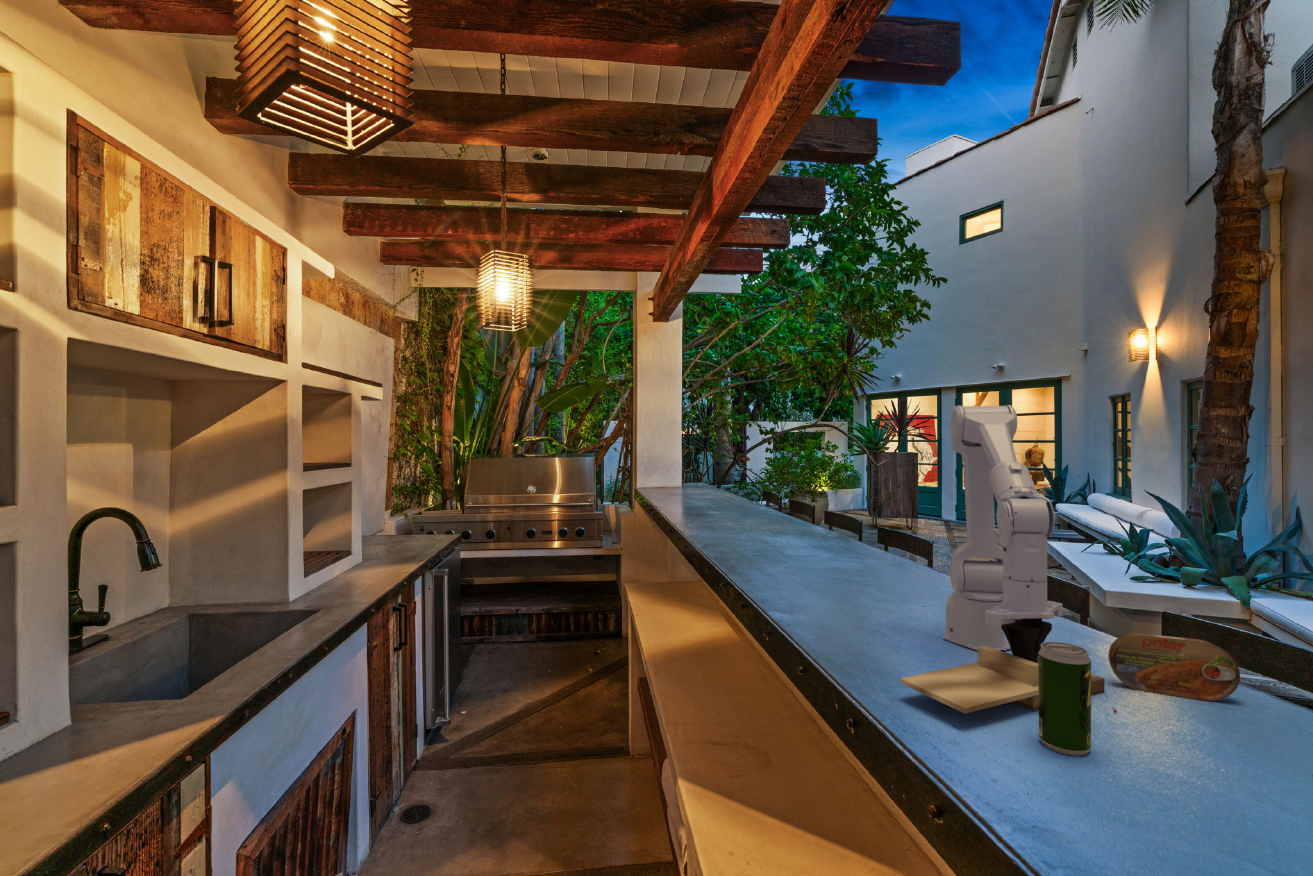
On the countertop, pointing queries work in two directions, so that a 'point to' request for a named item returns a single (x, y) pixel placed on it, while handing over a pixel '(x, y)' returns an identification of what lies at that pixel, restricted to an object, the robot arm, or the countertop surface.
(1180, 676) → the tin
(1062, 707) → the beer can
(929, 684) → the cover plate
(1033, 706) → the box
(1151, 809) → the countertop surface
